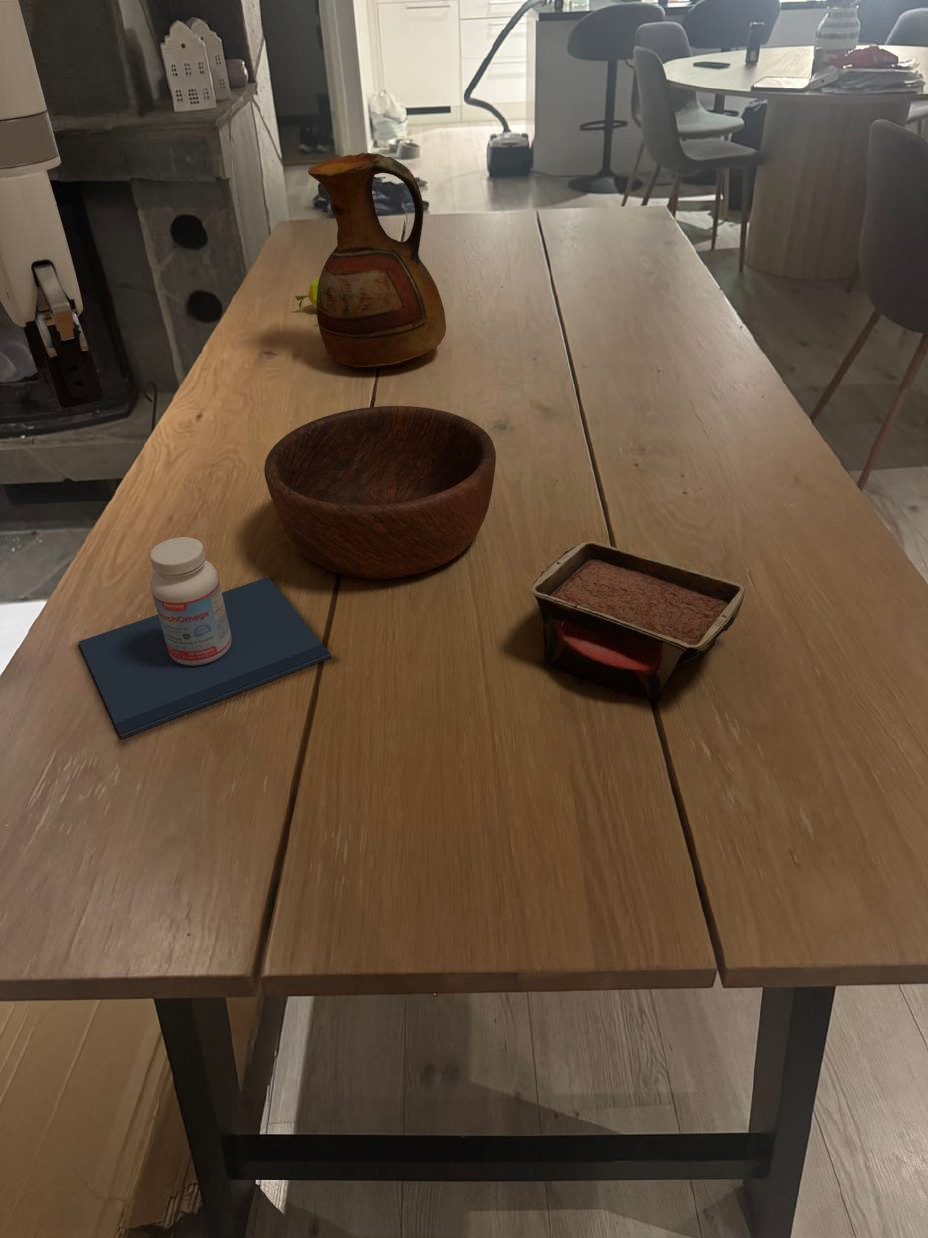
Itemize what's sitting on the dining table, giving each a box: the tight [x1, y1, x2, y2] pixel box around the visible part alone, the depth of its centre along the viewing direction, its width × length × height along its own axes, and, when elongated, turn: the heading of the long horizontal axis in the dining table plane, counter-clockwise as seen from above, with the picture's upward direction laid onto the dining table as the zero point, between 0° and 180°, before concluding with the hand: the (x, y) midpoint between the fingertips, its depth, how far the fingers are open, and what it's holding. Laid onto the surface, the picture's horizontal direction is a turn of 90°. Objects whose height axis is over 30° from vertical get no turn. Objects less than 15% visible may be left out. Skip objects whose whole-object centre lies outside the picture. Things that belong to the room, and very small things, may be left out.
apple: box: [294, 277, 320, 311], centre depth 168 cm, size 7×6×9 cm
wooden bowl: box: [263, 405, 497, 580], centre depth 103 cm, size 25×25×10 cm
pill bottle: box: [149, 536, 232, 666], centre depth 86 cm, size 6×6×11 cm
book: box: [78, 576, 332, 740], centre depth 90 cm, size 20×16×1 cm
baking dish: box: [530, 541, 746, 703], centre depth 85 cm, size 14×18×10 cm
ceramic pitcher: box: [307, 152, 447, 368], centre depth 141 cm, size 20×20×30 cm
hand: (69, 382), depth 74 cm, fingers open, 9 cm apart
